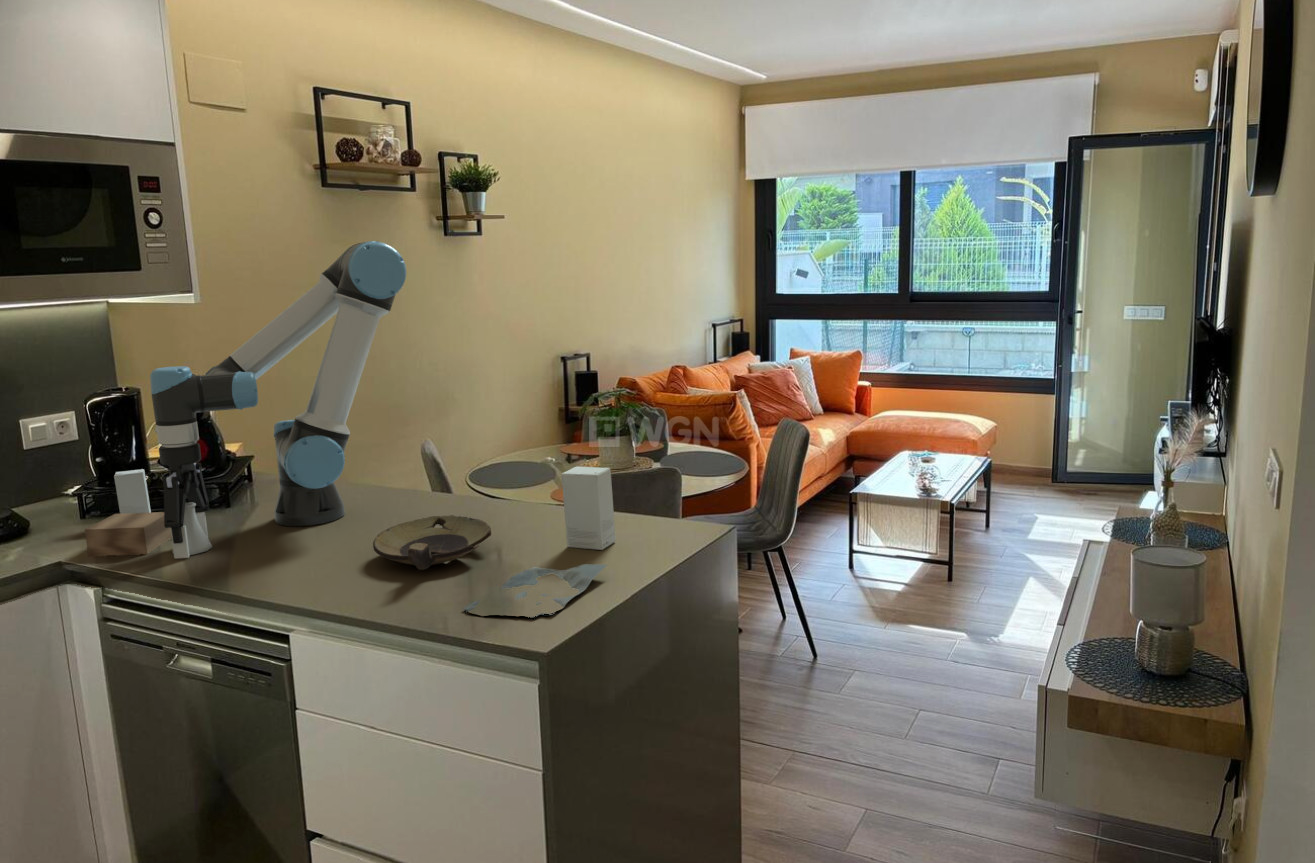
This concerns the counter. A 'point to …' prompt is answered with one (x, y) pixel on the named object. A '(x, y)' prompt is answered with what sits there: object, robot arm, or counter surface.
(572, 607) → the counter surface
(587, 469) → the skincare box
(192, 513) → the flask
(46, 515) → the counter surface
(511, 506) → the counter surface
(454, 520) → the oil lamp
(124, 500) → the skincare box
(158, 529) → the walnut block
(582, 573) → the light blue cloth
